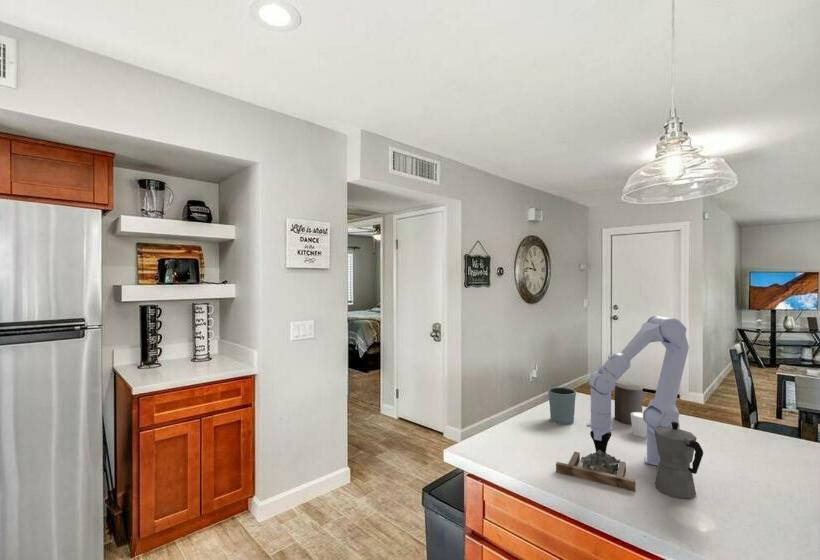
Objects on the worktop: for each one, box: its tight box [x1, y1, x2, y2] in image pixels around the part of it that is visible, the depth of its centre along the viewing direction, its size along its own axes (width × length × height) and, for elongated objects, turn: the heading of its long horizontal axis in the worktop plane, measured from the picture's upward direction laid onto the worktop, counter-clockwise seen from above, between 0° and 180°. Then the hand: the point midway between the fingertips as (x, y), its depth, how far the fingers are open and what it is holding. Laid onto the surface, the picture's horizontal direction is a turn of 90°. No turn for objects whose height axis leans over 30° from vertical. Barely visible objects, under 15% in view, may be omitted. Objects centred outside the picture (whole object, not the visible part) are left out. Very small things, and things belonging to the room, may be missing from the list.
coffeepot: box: [654, 422, 704, 500], centre depth 106 cm, size 15×9×18 cm, turn 6°
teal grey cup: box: [547, 386, 577, 426], centre depth 159 cm, size 10×10×12 cm
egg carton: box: [580, 450, 621, 474], centre depth 119 cm, size 11×8×4 cm
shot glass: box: [631, 411, 647, 438], centre depth 146 cm, size 7×7×7 cm
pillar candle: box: [613, 382, 644, 426], centre depth 159 cm, size 10×10×15 cm
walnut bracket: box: [555, 451, 636, 492], centre depth 117 cm, size 20×12×2 cm, turn 58°
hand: (600, 455), depth 125 cm, fingers closed
